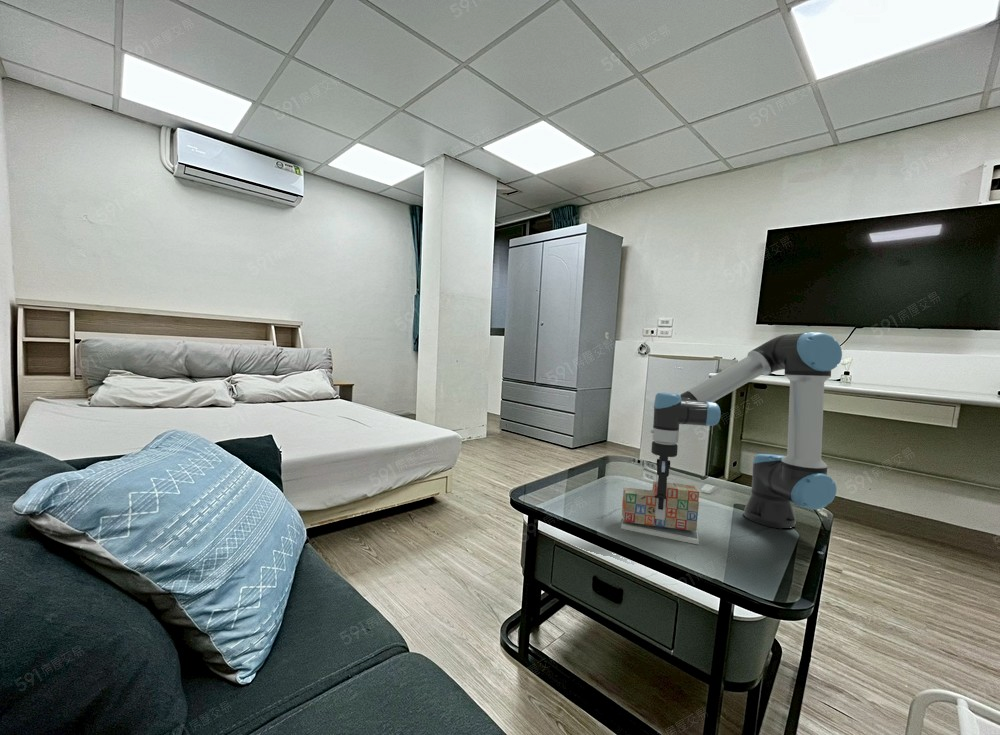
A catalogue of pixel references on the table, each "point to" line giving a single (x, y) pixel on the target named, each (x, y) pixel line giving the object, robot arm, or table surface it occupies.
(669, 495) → the stack of blocks
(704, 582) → the table surface
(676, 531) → the board
